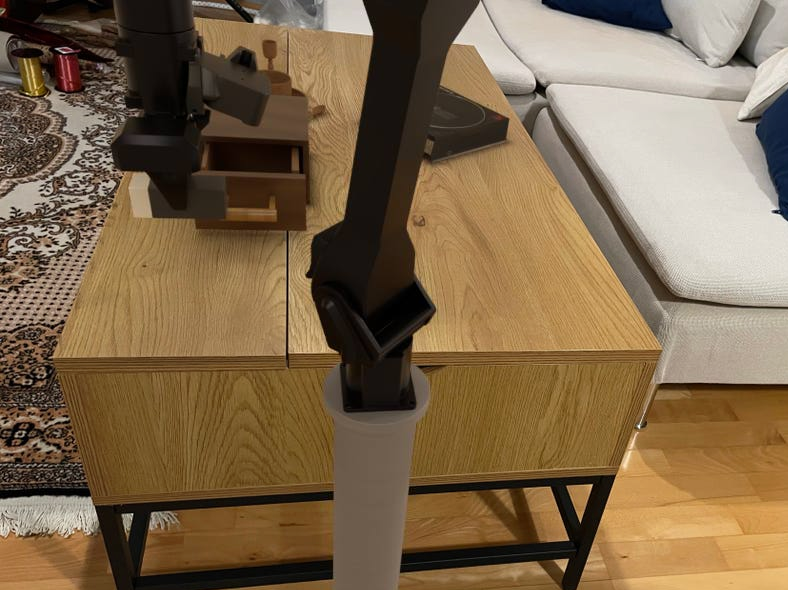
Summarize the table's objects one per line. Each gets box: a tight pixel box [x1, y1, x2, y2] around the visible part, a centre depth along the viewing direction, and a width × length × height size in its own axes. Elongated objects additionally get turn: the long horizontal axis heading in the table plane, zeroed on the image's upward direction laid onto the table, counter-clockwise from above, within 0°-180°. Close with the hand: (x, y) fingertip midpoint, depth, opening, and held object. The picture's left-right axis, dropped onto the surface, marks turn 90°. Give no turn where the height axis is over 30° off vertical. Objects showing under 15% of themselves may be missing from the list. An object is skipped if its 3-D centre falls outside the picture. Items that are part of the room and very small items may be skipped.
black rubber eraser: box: [127, 172, 228, 220], centre depth 65 cm, size 3×8×3 cm, turn 102°
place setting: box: [259, 39, 327, 121], centre depth 115 cm, size 18×20×6 cm
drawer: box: [191, 142, 308, 232], centre depth 84 cm, size 18×12×7 cm
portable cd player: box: [423, 84, 510, 164], centre depth 113 cm, size 16×17×4 cm
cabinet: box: [201, 95, 311, 205], centre depth 92 cm, size 15×14×9 cm
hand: (181, 201), depth 66 cm, fingers closed on black rubber eraser, 3 cm apart
